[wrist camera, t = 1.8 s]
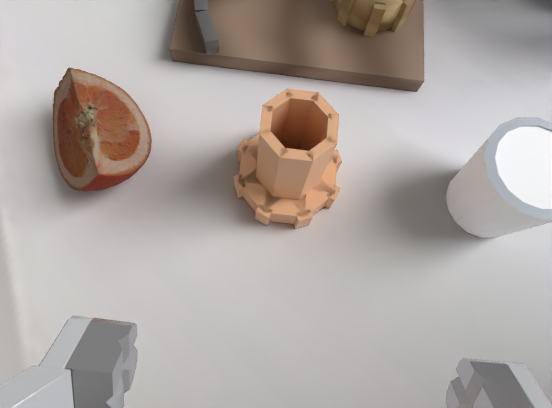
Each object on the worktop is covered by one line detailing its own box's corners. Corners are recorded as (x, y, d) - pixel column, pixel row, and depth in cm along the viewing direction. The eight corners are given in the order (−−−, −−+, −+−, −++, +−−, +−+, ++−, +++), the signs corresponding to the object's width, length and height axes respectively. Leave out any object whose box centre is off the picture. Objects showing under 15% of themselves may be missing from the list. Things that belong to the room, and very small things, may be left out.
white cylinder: (439, 153, 35) (485, 106, 28) (525, 168, 35) (591, 126, 28) (435, 237, 33) (484, 208, 26) (527, 253, 33) (599, 228, 26)
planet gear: (338, 139, 35) (367, 75, 27) (332, 233, 32) (362, 193, 24) (241, 128, 34) (241, 59, 26) (229, 221, 32) (224, 177, 24)
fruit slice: (51, 115, 34) (20, 76, 29) (139, 92, 35) (123, 51, 30) (75, 215, 31) (45, 191, 27) (168, 187, 32) (156, 159, 28)
